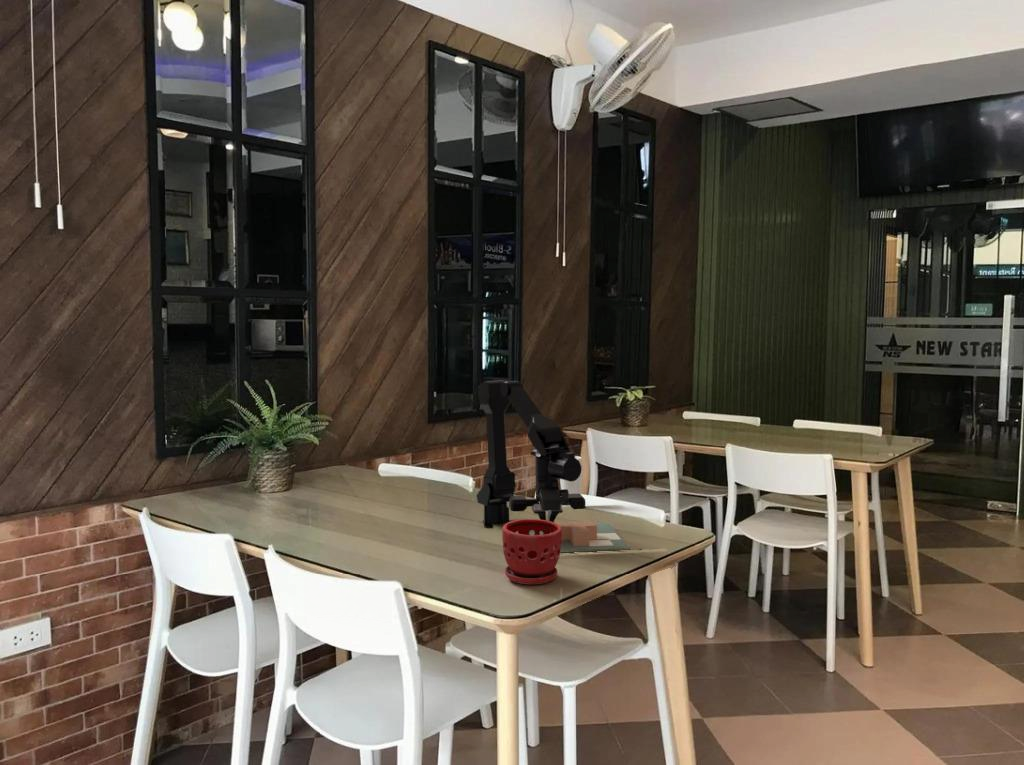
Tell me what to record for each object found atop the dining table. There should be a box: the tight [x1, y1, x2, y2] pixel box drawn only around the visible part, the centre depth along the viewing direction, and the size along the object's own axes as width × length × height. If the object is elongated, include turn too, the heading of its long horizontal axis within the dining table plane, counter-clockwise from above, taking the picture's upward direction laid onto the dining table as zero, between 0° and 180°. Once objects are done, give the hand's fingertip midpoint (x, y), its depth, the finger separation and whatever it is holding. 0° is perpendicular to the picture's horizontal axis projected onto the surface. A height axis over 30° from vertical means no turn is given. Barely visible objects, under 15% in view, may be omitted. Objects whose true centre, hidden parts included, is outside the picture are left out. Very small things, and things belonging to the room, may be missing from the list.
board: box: [529, 522, 631, 554], centre depth 218 cm, size 23×24×1 cm
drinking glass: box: [559, 455, 583, 508], centre depth 251 cm, size 7×7×15 cm
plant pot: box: [501, 518, 562, 586], centre depth 187 cm, size 13×13×12 cm
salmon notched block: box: [555, 521, 597, 546], centre depth 214 cm, size 10×9×4 cm
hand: (547, 535), depth 214 cm, fingers closed
